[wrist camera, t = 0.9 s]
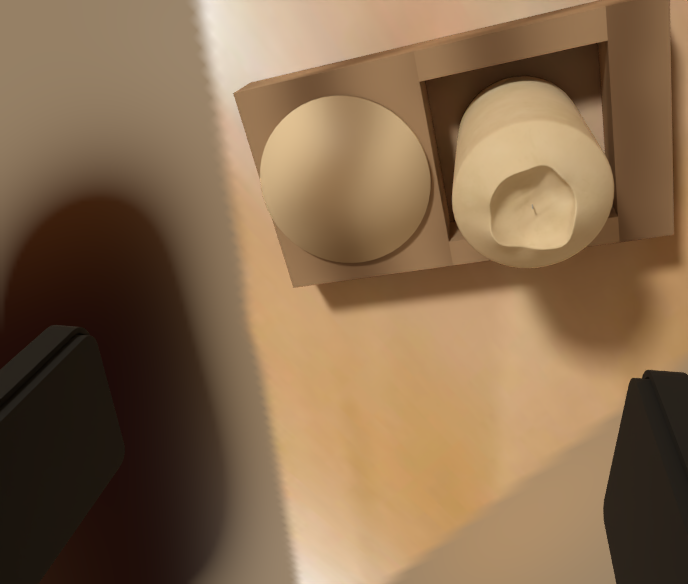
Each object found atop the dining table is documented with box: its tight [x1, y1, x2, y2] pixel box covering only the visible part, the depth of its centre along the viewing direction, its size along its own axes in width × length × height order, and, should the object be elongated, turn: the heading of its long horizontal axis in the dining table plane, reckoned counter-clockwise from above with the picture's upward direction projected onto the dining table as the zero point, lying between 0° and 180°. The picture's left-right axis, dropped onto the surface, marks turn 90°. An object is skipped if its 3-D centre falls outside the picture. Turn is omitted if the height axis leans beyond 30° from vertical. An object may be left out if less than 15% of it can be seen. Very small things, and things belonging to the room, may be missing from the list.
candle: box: [452, 76, 614, 268], centre depth 26 cm, size 6×6×10 cm
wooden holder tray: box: [233, 0, 674, 288], centre depth 29 cm, size 18×10×3 cm, turn 103°
